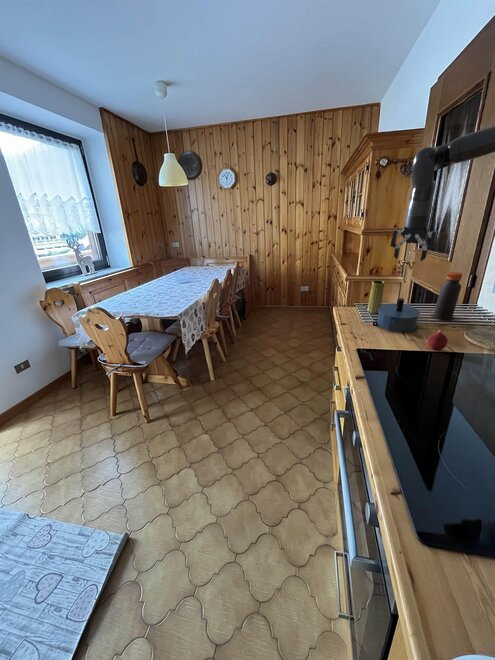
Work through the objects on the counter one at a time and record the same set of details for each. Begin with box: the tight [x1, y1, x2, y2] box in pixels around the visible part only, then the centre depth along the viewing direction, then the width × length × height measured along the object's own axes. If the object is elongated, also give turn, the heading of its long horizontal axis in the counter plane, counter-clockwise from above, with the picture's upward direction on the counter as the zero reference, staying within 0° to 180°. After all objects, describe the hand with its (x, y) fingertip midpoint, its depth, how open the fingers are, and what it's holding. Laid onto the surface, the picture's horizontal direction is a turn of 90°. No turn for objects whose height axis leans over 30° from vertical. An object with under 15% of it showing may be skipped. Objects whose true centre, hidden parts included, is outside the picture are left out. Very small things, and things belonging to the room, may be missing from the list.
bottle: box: [433, 271, 463, 322], centre depth 119 cm, size 7×7×20 cm
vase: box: [366, 279, 385, 314], centre depth 131 cm, size 6×6×14 cm
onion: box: [427, 329, 449, 351], centre depth 100 cm, size 6×6×8 cm
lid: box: [379, 297, 421, 319], centre depth 116 cm, size 15×15×6 cm
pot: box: [377, 312, 419, 333], centre depth 119 cm, size 14×20×6 cm
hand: (409, 259), depth 107 cm, fingers open, 8 cm apart
